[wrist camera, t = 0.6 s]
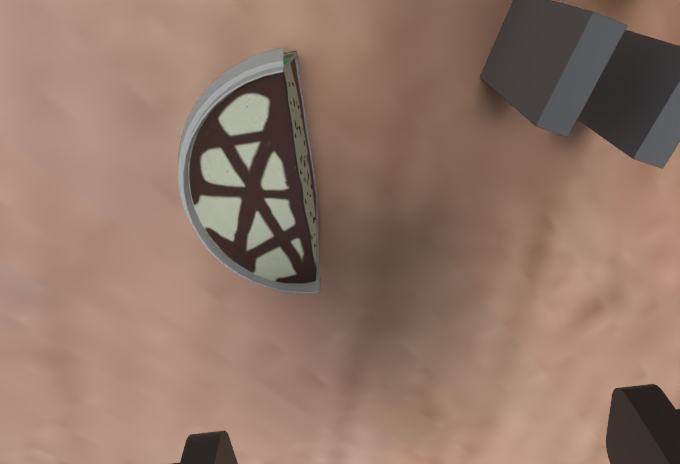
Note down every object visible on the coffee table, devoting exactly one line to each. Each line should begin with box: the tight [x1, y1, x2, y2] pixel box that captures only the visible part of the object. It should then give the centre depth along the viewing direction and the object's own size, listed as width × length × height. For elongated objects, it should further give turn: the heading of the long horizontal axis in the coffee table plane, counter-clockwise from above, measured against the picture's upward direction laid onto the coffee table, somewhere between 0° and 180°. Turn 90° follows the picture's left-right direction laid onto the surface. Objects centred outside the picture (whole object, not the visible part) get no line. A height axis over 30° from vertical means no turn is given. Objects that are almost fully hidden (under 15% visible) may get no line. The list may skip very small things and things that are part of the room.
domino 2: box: [577, 30, 680, 169], centre depth 29 cm, size 5×2×10 cm, turn 162°
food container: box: [178, 48, 321, 294], centre depth 31 cm, size 12×6×10 cm, turn 7°
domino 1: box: [480, 0, 627, 137], centre depth 28 cm, size 5×2×10 cm, turn 162°
